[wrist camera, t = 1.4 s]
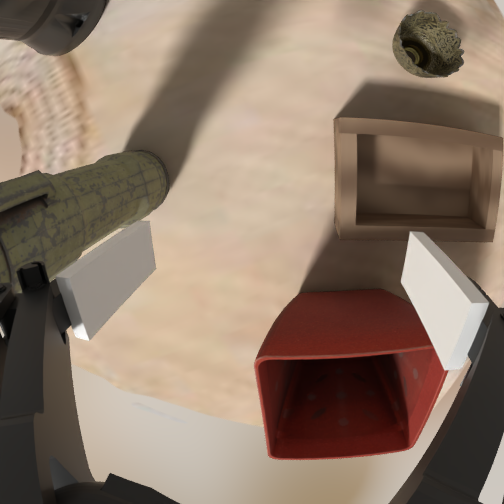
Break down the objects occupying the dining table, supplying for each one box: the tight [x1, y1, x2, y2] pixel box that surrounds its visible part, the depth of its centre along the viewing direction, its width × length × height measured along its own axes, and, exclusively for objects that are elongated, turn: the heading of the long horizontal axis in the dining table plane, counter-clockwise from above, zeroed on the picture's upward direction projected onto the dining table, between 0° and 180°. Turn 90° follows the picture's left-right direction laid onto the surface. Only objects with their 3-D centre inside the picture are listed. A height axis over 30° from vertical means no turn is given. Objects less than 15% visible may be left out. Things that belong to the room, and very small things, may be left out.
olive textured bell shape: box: [393, 10, 464, 78], centre depth 23 cm, size 8×7×8 cm
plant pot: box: [254, 289, 449, 460], centre depth 34 cm, size 19×19×17 cm
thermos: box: [0, 150, 169, 293], centre depth 22 cm, size 9×12×35 cm
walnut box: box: [334, 117, 503, 242], centre depth 30 cm, size 13×20×6 cm, turn 94°
